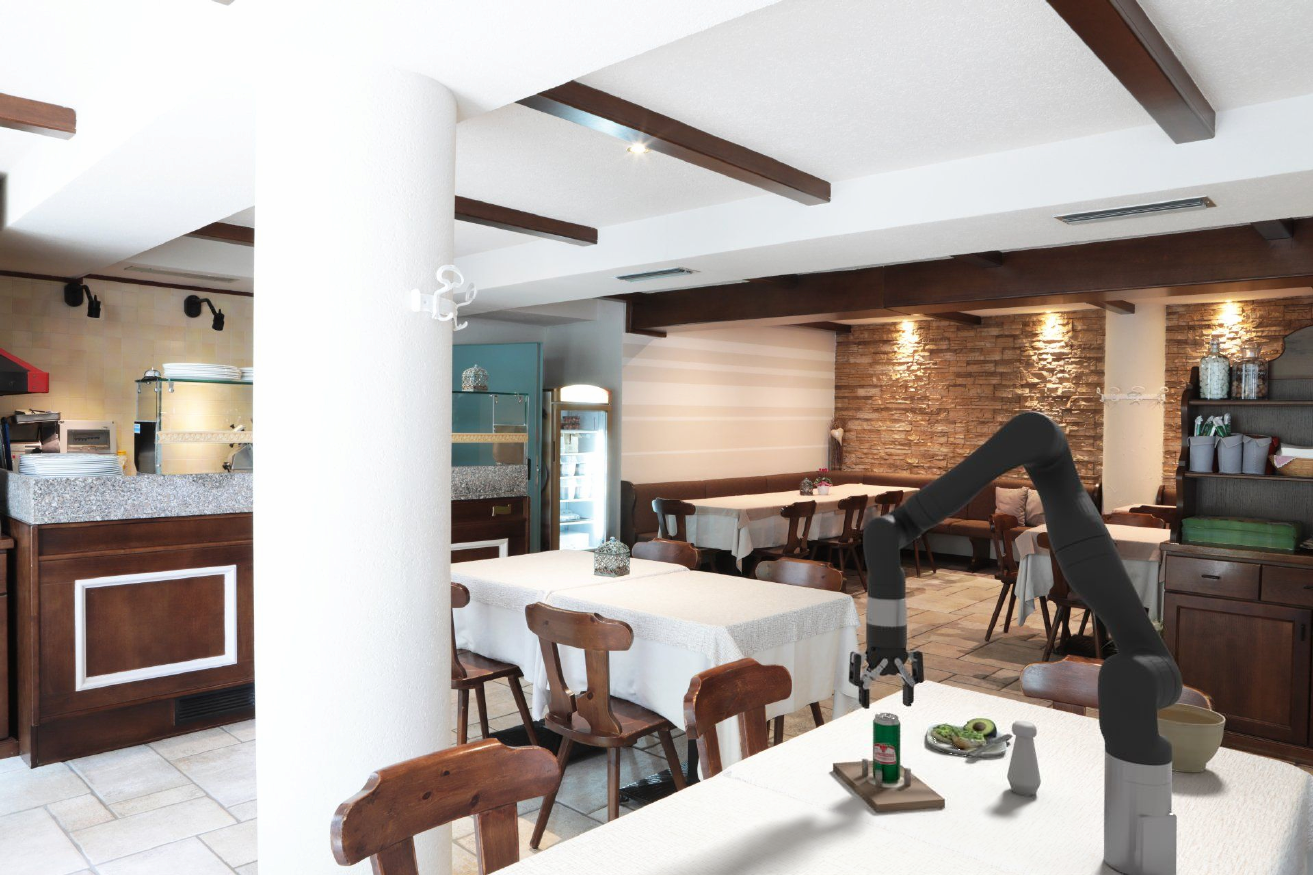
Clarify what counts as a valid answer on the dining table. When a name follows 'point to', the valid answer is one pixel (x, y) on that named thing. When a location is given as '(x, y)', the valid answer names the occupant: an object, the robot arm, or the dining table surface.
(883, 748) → the soda can
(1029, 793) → the salt shaker
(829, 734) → the dining table surface
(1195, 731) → the planter bowl
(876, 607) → the robot arm
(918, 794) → the pin board
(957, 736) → the salad plate
